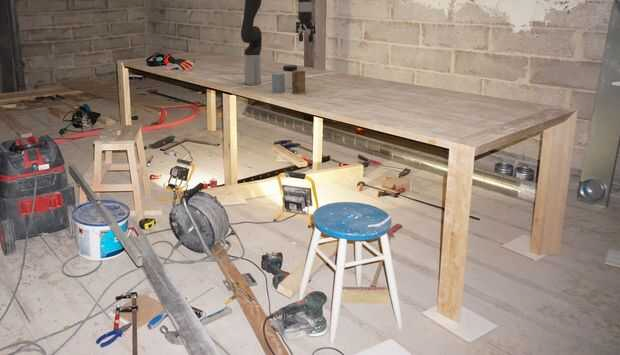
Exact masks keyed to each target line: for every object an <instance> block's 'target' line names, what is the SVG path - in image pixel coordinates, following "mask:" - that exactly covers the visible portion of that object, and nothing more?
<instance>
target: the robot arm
mask: <svg viewBox="0 0 620 355" xmlns="http://www.w3.org/2000/svg"><path fill="white" fill-rule="evenodd" d="M297 1H298V2H297V19H298V21H296V22H295V32H296V34H298V42H304V32H307V34H308V43H313V42H314V36H313V35H316V23H315V22H313V21H312V20H313V4H312V0H297ZM261 4H262V0H244V9H243V10H244V11H243V19H242V25H241V29H240V38H241V40H242V42H243V43H244V44H245V43H246V44H248V46H247V47H246V48H245V49H244V50H243V51H244V67H243V72H244V73H243V74H244V84H245V83H246V84H245V85H247V84H248V86H249V85H250V86H258V85H261V84H262V70H261V68H262V67H261V65H262V64H261V50H262V47H263V46H262V39H263V36H262V31H261V29H260V27H259V26H257V25H254V22H255V19H256V18H255V17H256V16H257V13H258V11H259V10H260V8H261Z"/></svg>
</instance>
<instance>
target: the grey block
mask: <svg viewBox="0 0 620 355" xmlns="http://www.w3.org/2000/svg"><path fill="white" fill-rule="evenodd" d="M271 88H272V89H271V90H272V91H271V92H272V93H276V94H282V93H285V92H286V88H285V73H283V72H274V73H271Z"/></svg>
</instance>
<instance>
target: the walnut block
mask: <svg viewBox="0 0 620 355" xmlns="http://www.w3.org/2000/svg"><path fill="white" fill-rule="evenodd" d="M291 89H292V90H291V94H295V95H302V94H303V95H304V94H306V70H300V69H297V70H296V71H292V88H291Z"/></svg>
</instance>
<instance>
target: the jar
mask: <svg viewBox="0 0 620 355" xmlns="http://www.w3.org/2000/svg"><path fill="white" fill-rule="evenodd" d="M282 68H283V69H282V73H285V89H292V71H296V70H298V65H294V64H287V65H286V64H285V65H283V66H282Z"/></svg>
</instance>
